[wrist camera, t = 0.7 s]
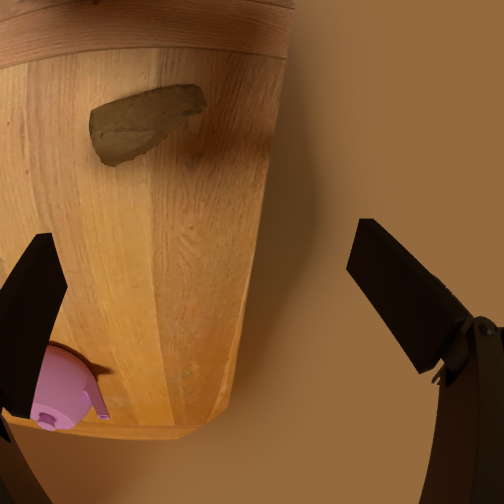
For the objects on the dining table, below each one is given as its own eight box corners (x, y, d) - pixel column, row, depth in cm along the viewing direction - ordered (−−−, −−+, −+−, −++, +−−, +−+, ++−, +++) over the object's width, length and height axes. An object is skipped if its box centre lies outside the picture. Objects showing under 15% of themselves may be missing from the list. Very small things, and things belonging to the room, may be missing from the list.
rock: (217, 58, 22) (101, 57, 18) (233, 124, 19) (84, 127, 15) (195, 136, 31) (106, 139, 28) (204, 202, 29) (101, 208, 25)
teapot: (31, 388, 43) (21, 439, 33) (-8, 336, 34) (-29, 392, 24) (126, 391, 47) (125, 450, 37) (97, 336, 38) (87, 407, 29)
